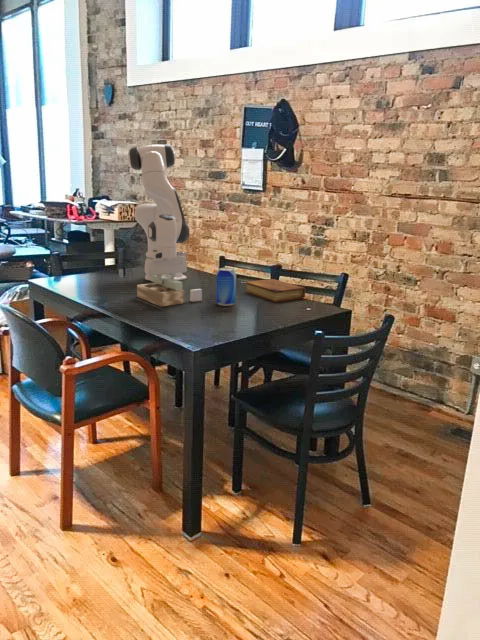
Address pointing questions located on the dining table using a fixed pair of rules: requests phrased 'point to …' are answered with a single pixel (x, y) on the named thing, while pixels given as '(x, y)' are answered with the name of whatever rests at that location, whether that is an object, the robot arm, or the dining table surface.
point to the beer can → (226, 287)
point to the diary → (275, 290)
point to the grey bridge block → (167, 282)
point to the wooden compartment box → (160, 294)
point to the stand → (196, 295)
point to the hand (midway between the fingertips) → (166, 283)
